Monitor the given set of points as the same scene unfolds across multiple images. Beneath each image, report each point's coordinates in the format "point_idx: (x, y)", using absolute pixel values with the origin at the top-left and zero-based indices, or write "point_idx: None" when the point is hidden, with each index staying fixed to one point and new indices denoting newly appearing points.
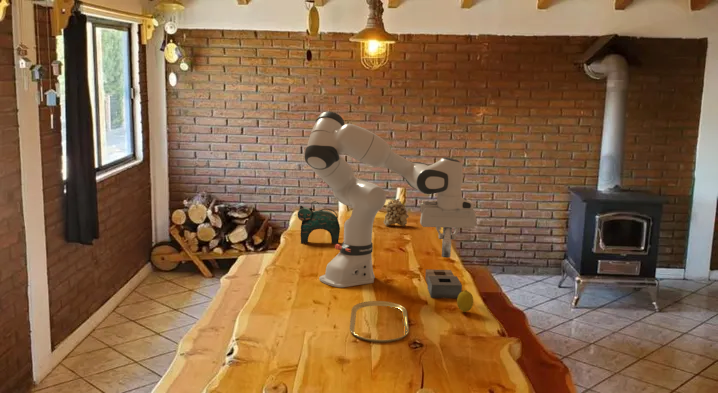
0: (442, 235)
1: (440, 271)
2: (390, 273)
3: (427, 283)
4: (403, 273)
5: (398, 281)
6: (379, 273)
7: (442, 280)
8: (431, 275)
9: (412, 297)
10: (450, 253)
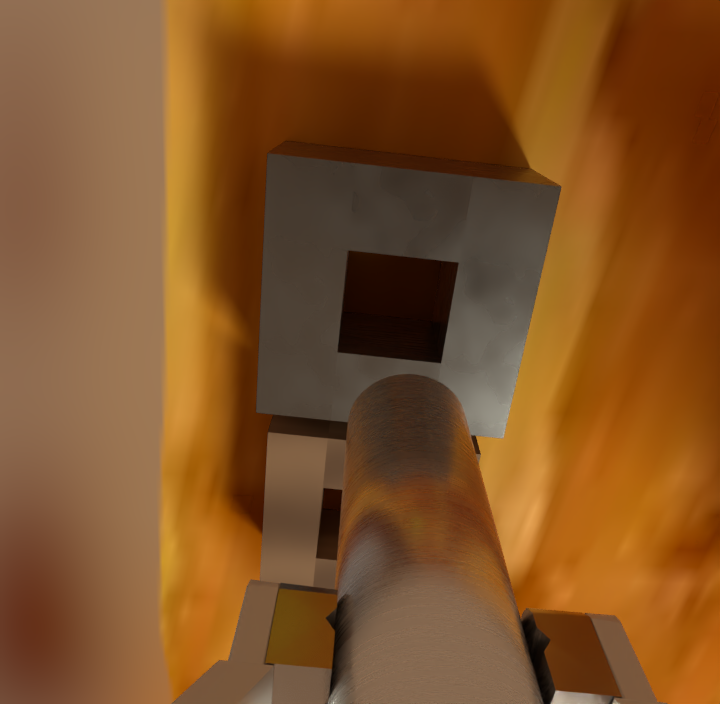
0: (569, 671)
1: None
2: None
3: None
4: None
5: (640, 526)
6: (702, 661)
7: (399, 352)
8: None
9: (680, 187)
10: (349, 431)
